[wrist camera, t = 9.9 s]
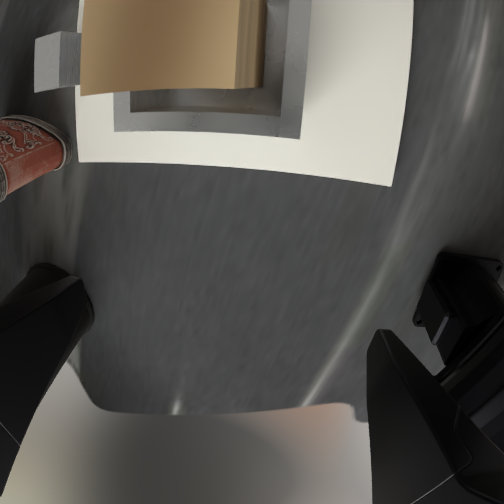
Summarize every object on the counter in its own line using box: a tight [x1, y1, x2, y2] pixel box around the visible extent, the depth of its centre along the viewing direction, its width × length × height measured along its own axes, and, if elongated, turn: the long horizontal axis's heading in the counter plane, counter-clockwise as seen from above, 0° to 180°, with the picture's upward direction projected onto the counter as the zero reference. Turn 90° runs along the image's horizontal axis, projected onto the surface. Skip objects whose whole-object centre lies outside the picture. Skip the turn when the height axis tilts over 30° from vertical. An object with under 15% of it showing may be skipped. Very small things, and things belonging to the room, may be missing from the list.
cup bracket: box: [34, 0, 312, 140], centre depth 12 cm, size 13×8×5 cm, turn 86°
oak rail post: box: [80, 0, 268, 96], centre depth 9 cm, size 4×4×8 cm
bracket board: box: [75, 0, 413, 187], centre depth 15 cm, size 19×13×2 cm
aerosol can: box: [0, 264, 94, 406], centre depth 18 cm, size 8×8×20 cm
